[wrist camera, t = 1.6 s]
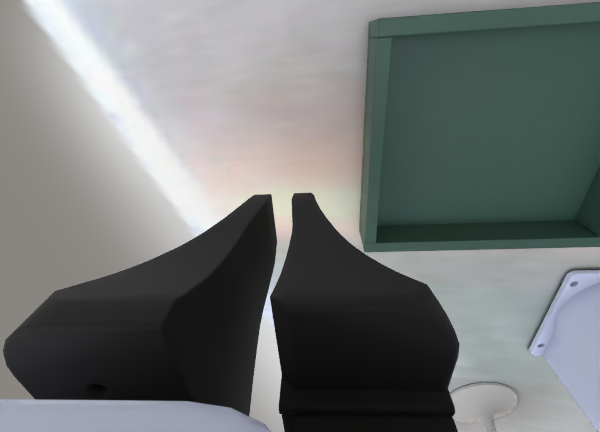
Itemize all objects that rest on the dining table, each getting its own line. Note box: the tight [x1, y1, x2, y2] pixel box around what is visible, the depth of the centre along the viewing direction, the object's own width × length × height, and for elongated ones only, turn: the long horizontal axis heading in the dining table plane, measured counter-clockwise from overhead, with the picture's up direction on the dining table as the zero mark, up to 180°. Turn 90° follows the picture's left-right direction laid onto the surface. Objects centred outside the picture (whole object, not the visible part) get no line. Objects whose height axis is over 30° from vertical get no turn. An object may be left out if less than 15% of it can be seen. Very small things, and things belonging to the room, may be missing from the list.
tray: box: [359, 2, 600, 252], centre depth 16 cm, size 12×14×2 cm
